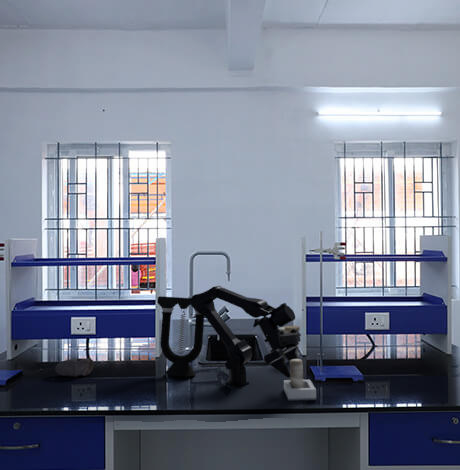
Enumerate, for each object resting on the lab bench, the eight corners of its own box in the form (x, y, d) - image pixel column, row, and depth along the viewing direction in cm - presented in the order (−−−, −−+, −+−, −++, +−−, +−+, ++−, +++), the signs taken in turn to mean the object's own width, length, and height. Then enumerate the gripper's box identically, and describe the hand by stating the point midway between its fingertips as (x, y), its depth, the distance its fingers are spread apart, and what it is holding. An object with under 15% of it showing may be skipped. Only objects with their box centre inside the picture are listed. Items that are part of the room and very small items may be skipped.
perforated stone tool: (52, 377, 165) (52, 360, 165) (59, 373, 170) (58, 356, 170) (89, 378, 164) (88, 360, 164) (94, 373, 169) (94, 356, 169)
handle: (284, 359, 183) (284, 325, 183) (299, 359, 183) (298, 325, 183) (286, 363, 179) (285, 328, 179) (301, 362, 178) (300, 328, 178)
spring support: (206, 372, 169) (210, 298, 173) (199, 379, 157) (204, 299, 161) (157, 368, 173) (163, 295, 176) (147, 374, 161) (153, 296, 164)
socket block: (288, 400, 139) (288, 390, 139) (283, 390, 148) (283, 380, 148) (316, 399, 139) (316, 389, 139) (310, 389, 148) (309, 379, 148)
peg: (288, 391, 145) (287, 359, 145) (300, 389, 147) (298, 358, 147) (294, 395, 141) (292, 363, 141) (306, 393, 142) (304, 361, 143)
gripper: (279, 328, 137) (303, 371, 133) (299, 317, 153) (321, 356, 149) (253, 342, 142) (276, 385, 138) (275, 330, 158) (296, 368, 154)
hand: (294, 373), depth 144 cm, fingers open, 9 cm apart
